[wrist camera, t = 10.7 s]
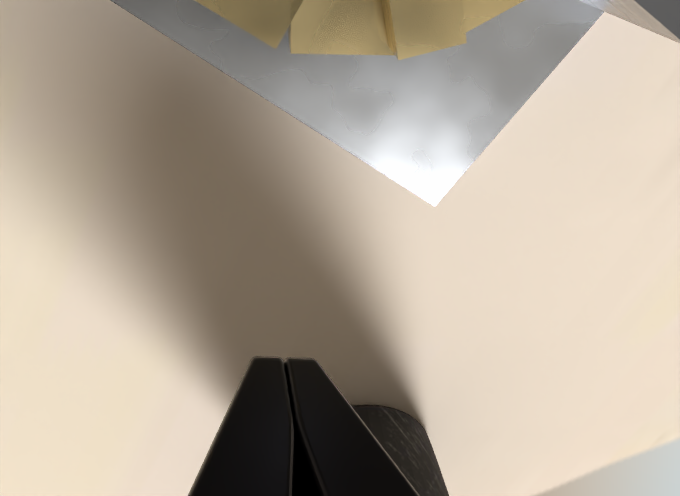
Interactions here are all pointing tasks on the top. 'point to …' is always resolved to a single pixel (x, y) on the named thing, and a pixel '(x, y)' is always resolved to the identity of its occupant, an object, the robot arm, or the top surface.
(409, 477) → the travel mug
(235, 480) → the robot arm
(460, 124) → the flange
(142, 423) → the top surface
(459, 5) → the grey and tan model
